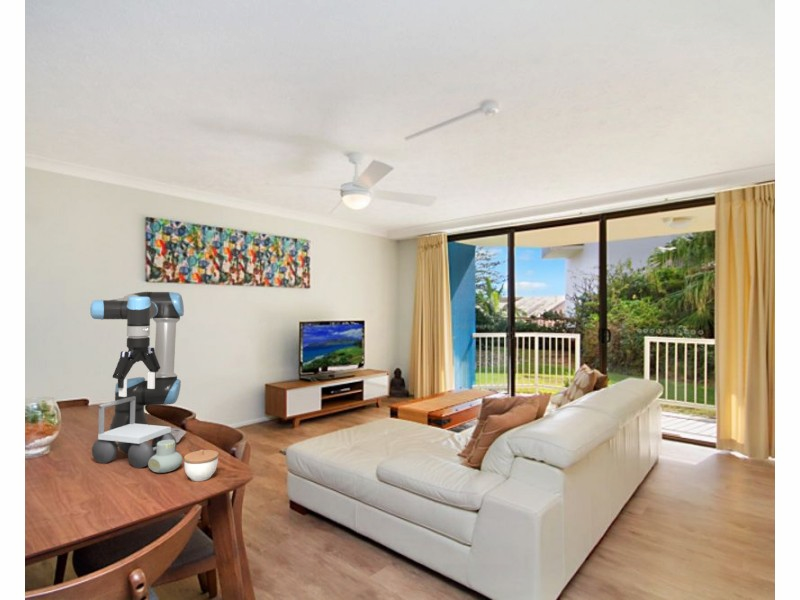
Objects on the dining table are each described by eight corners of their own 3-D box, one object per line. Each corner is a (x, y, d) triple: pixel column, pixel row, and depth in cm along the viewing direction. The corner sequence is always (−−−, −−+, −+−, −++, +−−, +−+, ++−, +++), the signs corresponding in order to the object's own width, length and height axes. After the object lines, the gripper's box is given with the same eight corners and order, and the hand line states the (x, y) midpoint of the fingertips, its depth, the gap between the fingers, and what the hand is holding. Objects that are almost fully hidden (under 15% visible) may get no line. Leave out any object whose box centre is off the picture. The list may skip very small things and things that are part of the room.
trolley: (124, 450, 173) (125, 395, 173) (177, 456, 167) (179, 399, 167) (89, 463, 158) (91, 403, 159) (146, 470, 153) (148, 408, 153)
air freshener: (185, 469, 154) (186, 441, 154) (163, 477, 147) (164, 447, 147) (167, 463, 159) (167, 436, 160) (144, 470, 152) (145, 442, 152)
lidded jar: (182, 486, 140) (183, 457, 140) (184, 474, 150) (185, 447, 150) (218, 481, 144) (218, 453, 144) (217, 470, 154) (218, 443, 154)
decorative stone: (188, 439, 189) (188, 425, 189) (176, 446, 179) (176, 431, 179) (158, 438, 189) (158, 425, 189) (145, 445, 180) (145, 431, 180)
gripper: (119, 340, 151) (118, 400, 152) (170, 334, 176) (169, 386, 176) (101, 339, 153) (100, 399, 153) (154, 333, 177) (153, 384, 178)
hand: (137, 392), depth 165 cm, fingers open, 13 cm apart
